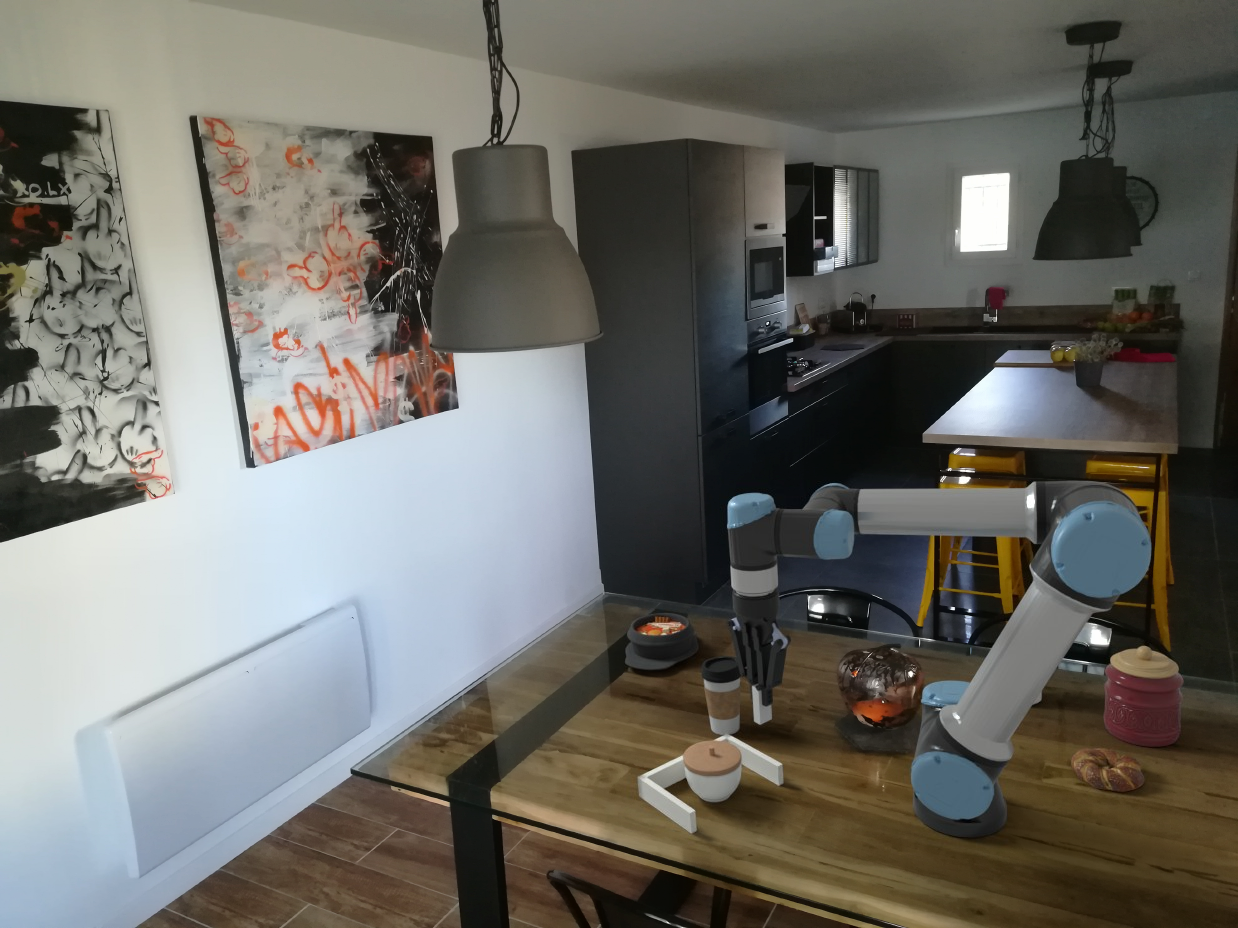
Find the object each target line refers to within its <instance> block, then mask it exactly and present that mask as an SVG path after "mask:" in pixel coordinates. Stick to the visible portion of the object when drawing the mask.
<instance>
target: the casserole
mask: <svg viewBox="0 0 1238 928" xmlns="http://www.w3.org/2000/svg"><path fill="white" fill-rule="evenodd" d="M626 637H627V638H628V640H629V641H630V642H629V643H628V644H627V646H626V647H625V651H624V652H625V656H626V657H625V660H624V663H625V665H626V666H628V667H630V668H633V669H638V670H643V671H644V670H645V671H661V670H667V669H669V668H671V667H673V666H675V665H676V664H677V663H679V662H683V661H685V660H686V659H690V658H691V657H693V656H694V655H695V654H696V653H697V652H698V650H699V648H700V645H699V643H698V639H697V637H698V634H697V633H696V632H695V628H694V626H693V625H692V624H691V622H690V620H689V619H688V618H687V617H685V616H684V615H681V614H678V613H671V612H669V613H668V612H662V613H661V612H660V613H659V612H658V613H651V614H646V615H643V616H641V617H639V618H636V619H635V620H633V621H632V622H631V624H630V627H629V630H628V631H627V634H626Z"/></svg>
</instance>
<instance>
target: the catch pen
mask: <svg viewBox="0 0 1238 928" xmlns="http://www.w3.org/2000/svg"><path fill="white" fill-rule="evenodd" d="M714 740H717V741H724V742H728V743H730V744H732V745H734V746H736V747H737V748H738V749H739V750H740V752H741V756H742V760H741V766H743V767H745V768H747V769H749V770H751V771H752V772H755V773H756V774H758V775H760V777H762V778H765V779H767V780H768V781H769V782H772V783H773V784H775V785H777V786H778V787H779V786H781V785H783V784H784V771H783V770H784V767H783V763H781V762H780V761H778V760H776V759H775V758H773V757H770V756H769V755H767V754H765V753H763V752H761V751H759V750H758V749H756V748H754V747H752V746H750V745H749V744H747V743H745V742H743V741H741V740H740V739H738V738H736V737H734V736H733V735H732V734H730V735H729V734H726V735H720V737H718V738H715V739H714ZM684 779H687V778H686V774H685V767H684V762H683V754H682V755H681V756H678V757H676V758H674V759H671V760H669V761H667V762H666V763H664V764H662V765H660V766H658V767H656V768H654V769H652V770H650V771H647V772H645V773H643V774H641V775H638V776H637V785H638V787H637V788H638V796H639V798H640V799H642V800H643V801H645V802H646V803H648V804H649V805H650V806H652V807H653V808H655V809H656V810H658V811H659V812H661V813H662V814H664V815H665V816H666V817H668V818H669V819H670V820H671V821H672V822H674V823H675V824H677V825H679V826H680V827H681V828H683V830H685V831H687V832H688V833H690V834H691V835H692V834H695V832H697V830H698V829H697V818H696V817H697V816H696V810H695V809H694V808H693V807H691V806H689V804H686V803H685V802H684V801H682V800H680V799H679V798H677V797H676V796H675V795H673V794H671V792H669V791H668V790H666V788H668V787H670V786H672V785H673V784H676V783H677V782H680V781H682V780H684Z"/></svg>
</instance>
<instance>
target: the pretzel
mask: <svg viewBox="0 0 1238 928" xmlns="http://www.w3.org/2000/svg"><path fill="white" fill-rule="evenodd" d="M1070 764H1071V768H1072V769H1073V771H1074V772H1075V773H1076V776H1077V777H1078V778H1079V779H1080V780H1081V781H1082V782H1084V783H1085V782H1086V783H1088V784H1089V785H1090V786H1091V787H1093V788H1095V789H1099V790H1104V791H1113V792H1118V793H1119V792H1120V793H1121V792H1124V793H1125V792H1129V791H1132V790H1136V789H1138V788H1140V787H1141V786H1143V784H1145V776H1144V773H1142V766H1141V764H1140V761H1138V760H1136V758H1134V757H1132V756H1130V755H1121V756H1120V755H1119V753H1118V752H1115V751H1113V750H1112V749H1109V748H1104V747H1100V748H1099V747H1098V748H1097V747H1096V748H1081V749H1079V750H1078V751H1077V750H1076V752H1075V753H1074V754H1073V755H1072V757H1071V761H1070Z"/></svg>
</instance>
